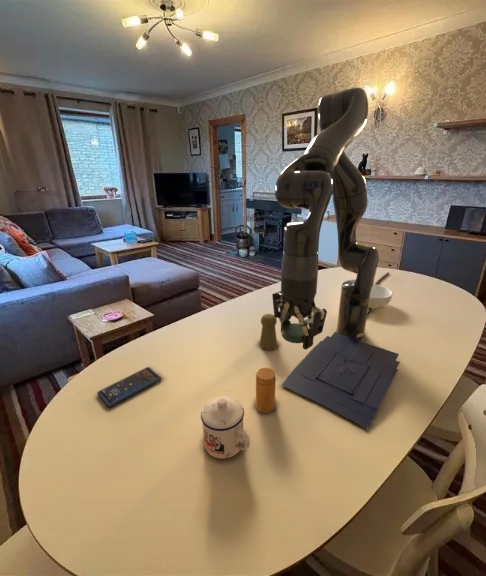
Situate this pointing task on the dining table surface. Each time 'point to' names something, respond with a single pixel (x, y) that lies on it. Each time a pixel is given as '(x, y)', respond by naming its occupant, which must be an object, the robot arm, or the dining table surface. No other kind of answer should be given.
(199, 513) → the dining table surface
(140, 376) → the smartphone
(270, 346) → the brown rounded tall piece
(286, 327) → the lid
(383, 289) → the cereal bowl
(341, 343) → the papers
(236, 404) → the teacup with lid
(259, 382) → the jar
